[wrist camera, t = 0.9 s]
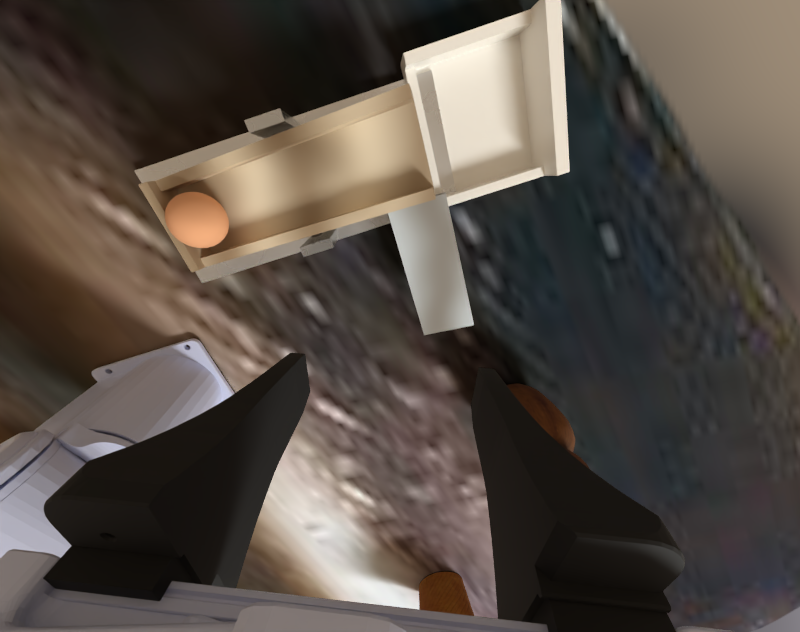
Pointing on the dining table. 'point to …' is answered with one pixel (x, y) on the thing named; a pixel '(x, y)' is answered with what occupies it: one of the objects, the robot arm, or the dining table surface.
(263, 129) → the stand
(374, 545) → the dining table surface
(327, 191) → the beige tray
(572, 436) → the wooden figurine
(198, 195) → the brown egg
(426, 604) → the disposable coffee cup
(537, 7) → the dish
